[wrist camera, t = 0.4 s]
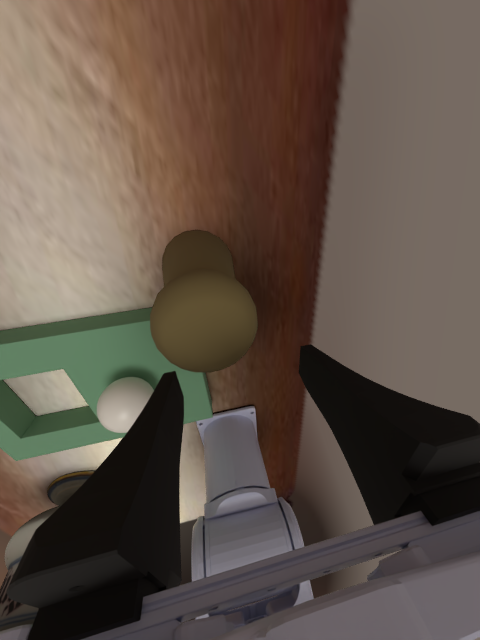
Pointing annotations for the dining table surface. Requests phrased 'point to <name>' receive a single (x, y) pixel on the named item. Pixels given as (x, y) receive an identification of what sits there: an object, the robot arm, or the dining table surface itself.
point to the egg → (123, 403)
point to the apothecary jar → (3, 610)
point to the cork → (201, 306)
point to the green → (84, 378)
